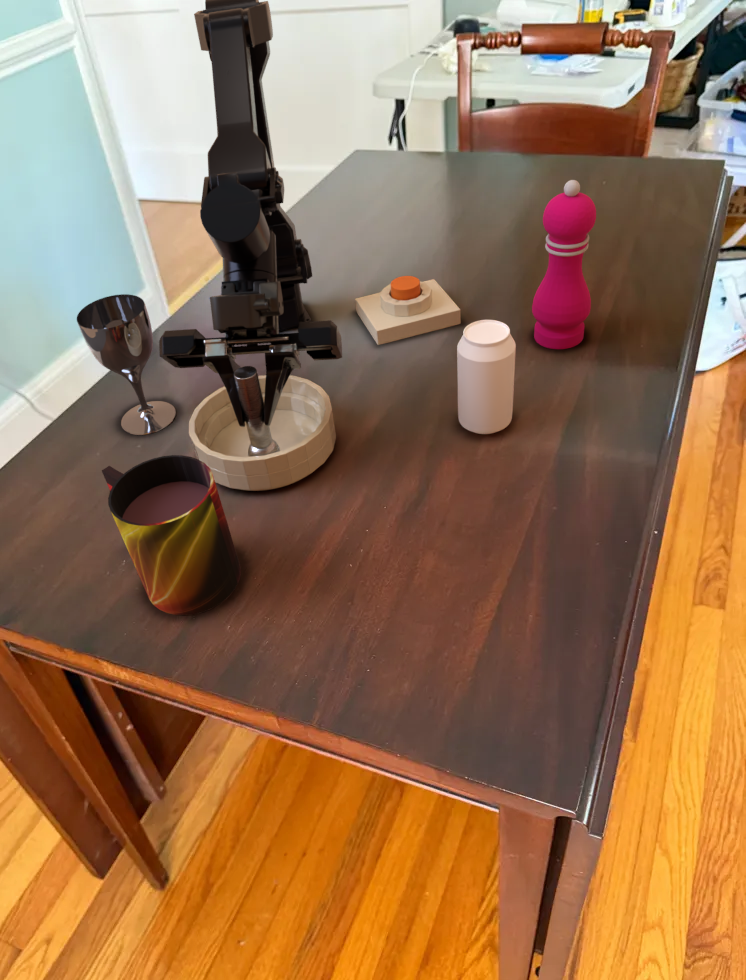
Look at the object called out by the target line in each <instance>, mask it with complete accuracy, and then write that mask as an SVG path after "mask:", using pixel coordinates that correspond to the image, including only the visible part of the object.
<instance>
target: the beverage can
mask: <svg viewBox="0 0 746 980" xmlns="http://www.w3.org/2000/svg"><path fill="white" fill-rule="evenodd" d="M462 334H463V335H462V336H461V338H460V339H459V341H458V343H457V346H456V360H457V361H456V363H457V364H456V365H457V367H456V368H457V371H456V372H457V373H456V375H457V376H456V377H457V417H458V422H459V424H460V425H461V427H462V428H464V429H465V430H467V431H469V432H471V433H475V434H479V435H490V434H494V433H498V432H500V431H503V430H504V429H505V428H507V427H508V426H509V425H510V424H511V422H512V419H513V410H514V409H513V408H514V392H515V391H514V389H515V369H516V352H517V351H516V349H517V348H516V347H517V344H516V341H515V340H514V338H513V336H512V334H511V329H510V326H509V325H507V323H505V322H502V321H500V320H495V319H481V320H476V321H472V322H471V323H469V324H467V325H466V326H465V327H464V328H463V333H462Z"/></svg>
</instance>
